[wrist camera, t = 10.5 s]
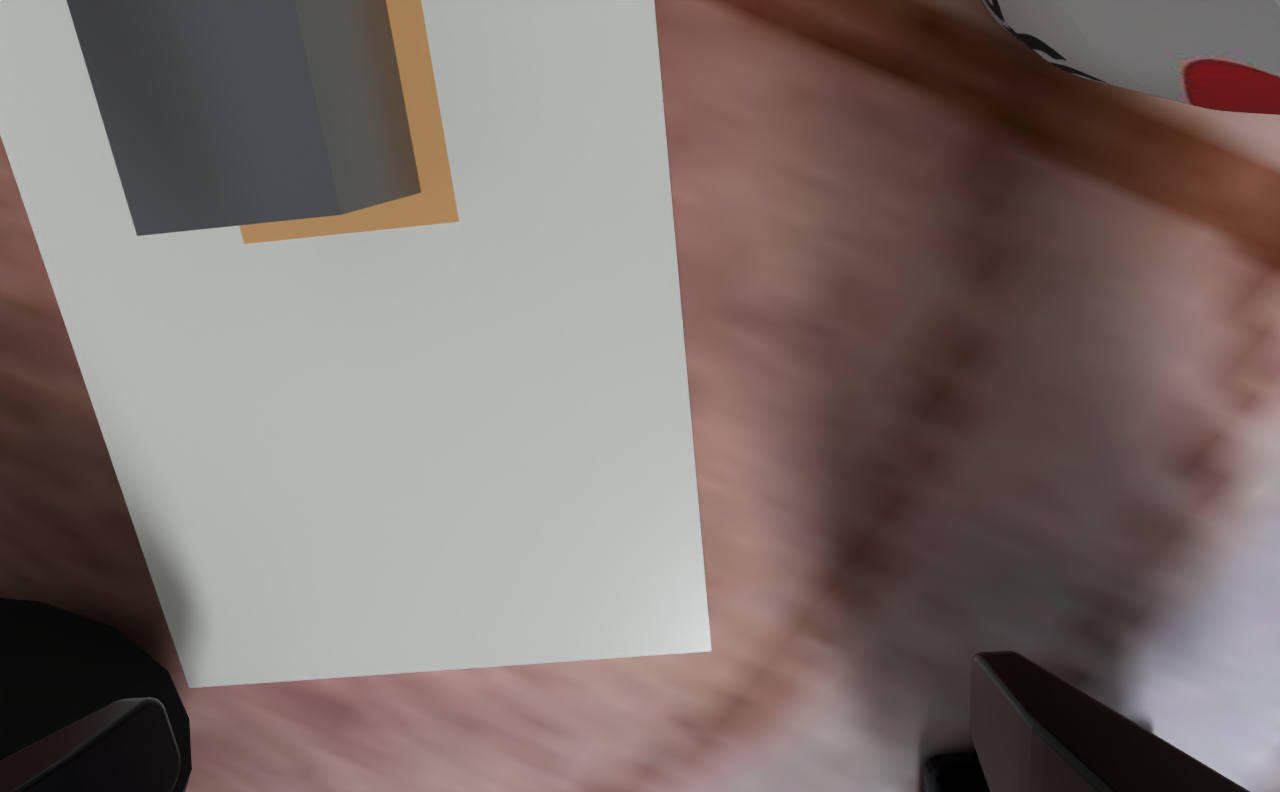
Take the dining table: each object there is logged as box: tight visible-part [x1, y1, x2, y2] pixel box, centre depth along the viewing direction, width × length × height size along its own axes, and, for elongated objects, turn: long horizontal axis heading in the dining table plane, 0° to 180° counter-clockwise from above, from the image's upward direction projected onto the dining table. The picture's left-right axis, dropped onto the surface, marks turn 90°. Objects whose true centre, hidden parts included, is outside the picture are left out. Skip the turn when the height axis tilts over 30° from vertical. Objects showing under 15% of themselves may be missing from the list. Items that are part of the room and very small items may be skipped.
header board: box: [0, 0, 711, 688], centre depth 17 cm, size 22×14×4 cm, turn 6°
